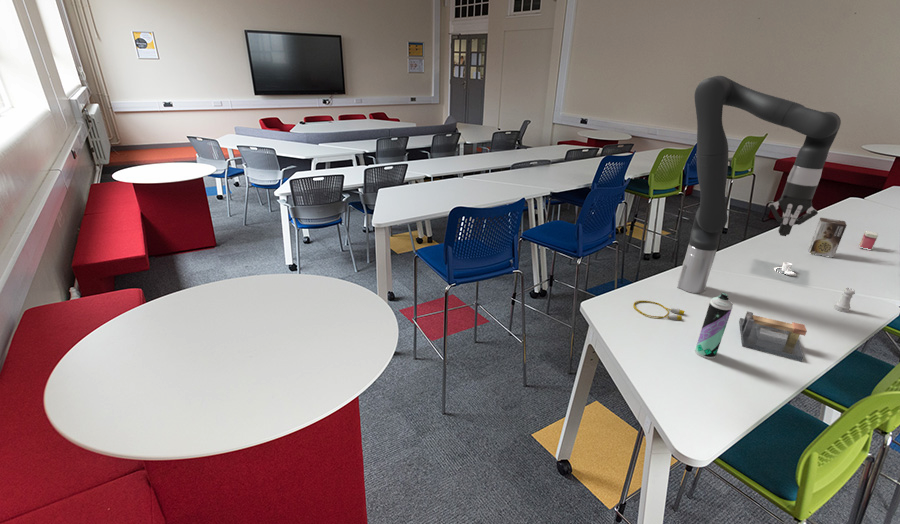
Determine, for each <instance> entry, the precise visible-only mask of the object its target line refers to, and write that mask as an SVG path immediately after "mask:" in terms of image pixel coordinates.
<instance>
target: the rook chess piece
mask: <svg viewBox="0 0 900 524" xmlns="http://www.w3.org/2000/svg"><path fill="white" fill-rule="evenodd" d="M842 291H843V293H842V296H841V298H840V299H839V300H838V301H836V302H835V303H834V305H833V308H834V309H835V308H836V309H838V310H837V311H839V310H840V311H839V312H842V311H844V313H848V312H850V310H851V299H852V298H853V295H856V293H855V291H856V290H855V289H853V288H850V287H846V288H845V289H843V290H842ZM836 309H835V310H836Z"/></svg>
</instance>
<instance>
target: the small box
mask: <svg viewBox="0 0 900 524" xmlns="http://www.w3.org/2000/svg"><path fill="white" fill-rule="evenodd" d="M878 237H879V234H878V232H875V231H869V230H865V232H864V233H863V235H862V238H861V240H860V241H859V244H858V246H859V245H860V247H863V248H868V249H872V250H873V247H874V246H875V243H876V241H877V239H878Z"/></svg>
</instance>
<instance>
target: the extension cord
mask: <svg viewBox="0 0 900 524" xmlns="http://www.w3.org/2000/svg"><path fill="white" fill-rule="evenodd" d="M639 303H648V304H654V305H657V306H660V307H661V308H663V309H665V311H666V312H667V313H666V315H664V316H661V315H658V316H657V315H655V316H654V315H651V314H650V315H649V314H647V313H645V312H643V311H641V310H639V308H638V307H636V305H637V304H639ZM633 308H634V311H636V312H637V313H639V314H641V315H642V316H644V317H646V318H650V319H655V320H656V319H657V320H658V319H663V318H667V320H672V321H682V320H683V317H682V316H685V315H684V314H685V310H683V309H680V308H674V307H671V308H668V307H666V306H664V305H663V304H661V303H658V302H656V301H651V300H635V301H634V302H633ZM670 312H671V313H674V314H671V315H669V313H670Z"/></svg>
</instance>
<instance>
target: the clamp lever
mask: <svg viewBox="0 0 900 524" xmlns="http://www.w3.org/2000/svg"><path fill="white" fill-rule="evenodd" d="M745 315H746V314H745ZM746 318H747V320H748V319H753V320H754V323H756V324H760V325H765V326H769V327H773V328H777V329H782V330H786V331H790V332H793V333H795V334H800V335H799V336H804V337H806V334H807V332H808V331H807V328H806V325H805V324H802V323H799V322H798V323H797V322H792V323H790V322H786V321H780V320H776V319H772V318H767V317H763V316H758V315H755V314H753V315H752V314H751V313H748V314H747V315H746Z"/></svg>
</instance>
